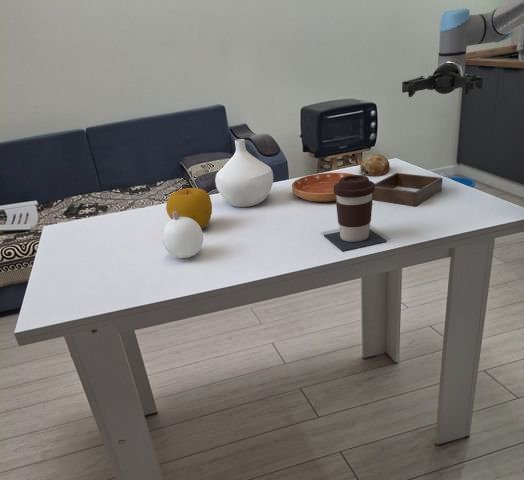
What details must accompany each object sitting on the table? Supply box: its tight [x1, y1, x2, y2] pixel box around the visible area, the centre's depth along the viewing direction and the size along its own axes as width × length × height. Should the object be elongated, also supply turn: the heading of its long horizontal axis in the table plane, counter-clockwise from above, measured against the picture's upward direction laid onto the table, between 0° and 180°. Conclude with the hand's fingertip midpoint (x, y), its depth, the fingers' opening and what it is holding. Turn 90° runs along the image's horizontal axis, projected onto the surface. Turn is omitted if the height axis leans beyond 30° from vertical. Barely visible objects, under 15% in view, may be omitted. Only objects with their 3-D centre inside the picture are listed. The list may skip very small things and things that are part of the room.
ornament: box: [161, 211, 204, 259], centre depth 136 cm, size 10×10×12 cm
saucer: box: [291, 172, 355, 203], centre depth 171 cm, size 23×23×4 cm
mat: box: [323, 228, 388, 253], centre depth 138 cm, size 12×12×1 cm
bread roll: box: [359, 153, 391, 177], centre depth 185 cm, size 10×10×8 cm
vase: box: [214, 138, 274, 208], centre depth 168 cm, size 18×18×19 cm
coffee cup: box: [334, 174, 375, 242], centre depth 134 cm, size 10×10×15 cm
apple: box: [165, 187, 213, 230], centre depth 154 cm, size 13×13×11 cm
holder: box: [372, 172, 444, 208], centre depth 162 cm, size 16×16×4 cm
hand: (438, 89), depth 134 cm, fingers open, 13 cm apart
